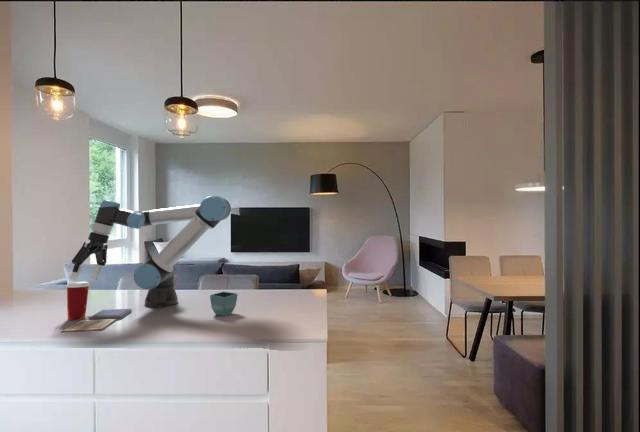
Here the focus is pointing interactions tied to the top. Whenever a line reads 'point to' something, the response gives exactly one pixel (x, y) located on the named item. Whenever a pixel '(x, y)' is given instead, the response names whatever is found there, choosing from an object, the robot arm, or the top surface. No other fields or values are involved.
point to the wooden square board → (90, 325)
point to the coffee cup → (77, 299)
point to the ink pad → (110, 314)
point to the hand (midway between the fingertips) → (84, 279)
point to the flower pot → (223, 303)
